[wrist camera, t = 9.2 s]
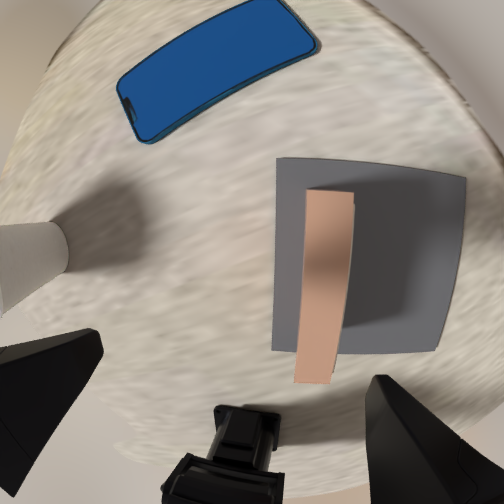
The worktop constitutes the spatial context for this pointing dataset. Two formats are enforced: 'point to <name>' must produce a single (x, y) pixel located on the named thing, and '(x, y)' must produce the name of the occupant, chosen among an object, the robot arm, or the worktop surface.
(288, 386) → the worktop surface
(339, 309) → the block
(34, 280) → the dixie cup
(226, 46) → the smartphone
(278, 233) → the mat
